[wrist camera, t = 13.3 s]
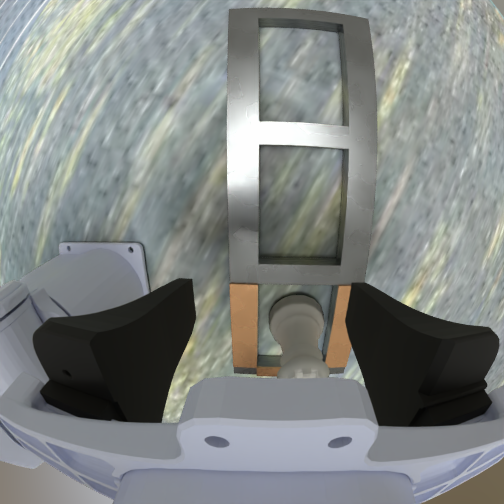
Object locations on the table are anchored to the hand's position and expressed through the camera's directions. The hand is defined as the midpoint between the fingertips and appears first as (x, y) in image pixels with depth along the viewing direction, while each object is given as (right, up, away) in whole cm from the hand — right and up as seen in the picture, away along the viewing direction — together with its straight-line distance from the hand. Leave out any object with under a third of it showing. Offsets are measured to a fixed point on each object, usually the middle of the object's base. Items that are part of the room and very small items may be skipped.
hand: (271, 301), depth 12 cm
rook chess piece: (+3, -3, +10) cm, 11 cm away
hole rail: (+2, +6, +7) cm, 9 cm away
